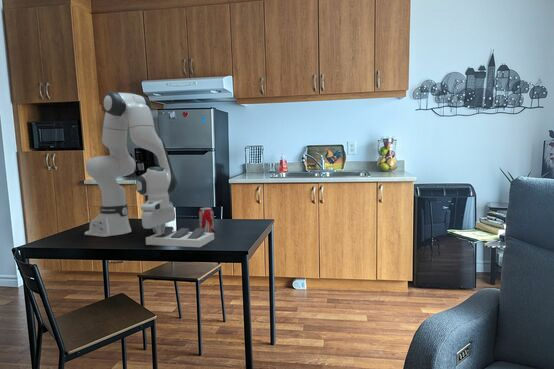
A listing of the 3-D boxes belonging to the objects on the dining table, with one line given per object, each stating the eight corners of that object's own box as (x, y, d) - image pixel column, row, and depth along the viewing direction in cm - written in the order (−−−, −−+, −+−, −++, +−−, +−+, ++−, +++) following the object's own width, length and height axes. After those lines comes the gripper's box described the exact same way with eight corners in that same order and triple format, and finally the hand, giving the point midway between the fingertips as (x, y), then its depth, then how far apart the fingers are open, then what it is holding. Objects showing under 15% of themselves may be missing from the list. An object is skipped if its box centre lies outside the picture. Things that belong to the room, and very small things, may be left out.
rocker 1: (155, 240, 167) (154, 237, 166) (165, 229, 175) (165, 226, 174) (163, 241, 166) (162, 238, 165) (173, 229, 173) (172, 226, 173)
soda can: (211, 233, 182) (210, 209, 181) (197, 233, 184) (196, 209, 183) (216, 230, 189) (215, 207, 188) (203, 230, 191) (202, 207, 189)
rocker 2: (187, 241, 162) (187, 238, 162) (197, 231, 170) (196, 228, 170) (196, 241, 161) (195, 238, 161) (205, 231, 169) (204, 228, 169)
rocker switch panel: (146, 244, 165) (145, 237, 165) (164, 237, 178) (163, 230, 178) (199, 247, 158) (199, 240, 158) (214, 239, 171) (213, 232, 171)
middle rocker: (171, 239, 164) (170, 236, 164) (181, 231, 173) (180, 228, 172) (179, 240, 163) (178, 237, 163) (189, 231, 172) (188, 228, 171)
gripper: (165, 200, 176) (167, 229, 178) (138, 207, 157) (140, 239, 158) (177, 200, 174) (179, 229, 176) (151, 207, 155) (153, 240, 156)
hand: (160, 234), depth 167 cm, fingers closed
